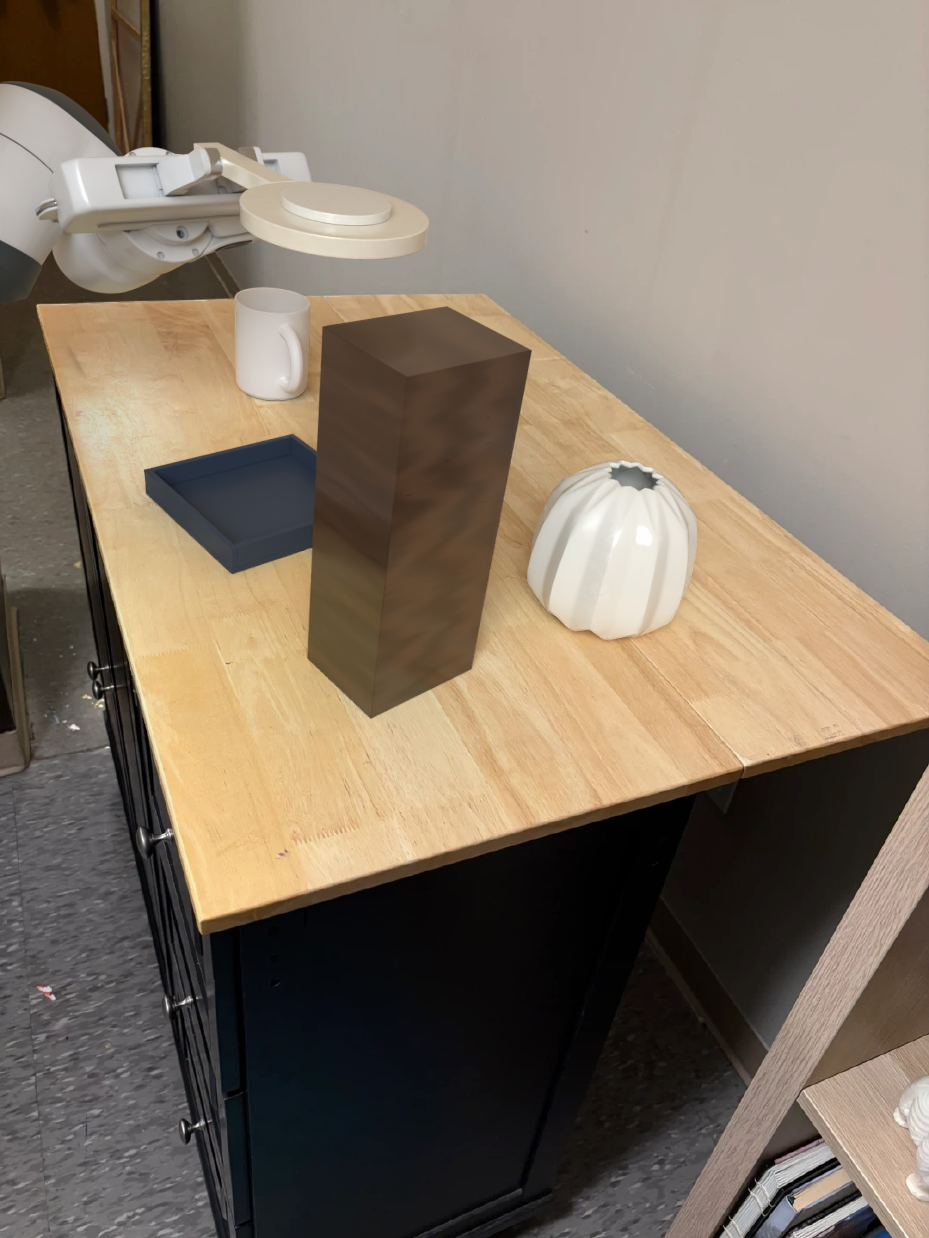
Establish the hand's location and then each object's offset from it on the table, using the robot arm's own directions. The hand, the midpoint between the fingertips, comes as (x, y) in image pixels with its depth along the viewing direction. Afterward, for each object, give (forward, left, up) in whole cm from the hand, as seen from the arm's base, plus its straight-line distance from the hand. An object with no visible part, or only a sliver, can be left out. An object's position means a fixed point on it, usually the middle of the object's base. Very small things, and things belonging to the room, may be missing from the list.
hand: (233, 159), depth 64 cm
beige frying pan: (0, -7, -1) cm, 7 cm away
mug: (+19, +22, -31) cm, 43 cm away
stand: (0, -23, -31) cm, 38 cm away
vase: (+20, -27, -31) cm, 45 cm away
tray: (+4, +1, -31) cm, 31 cm away
